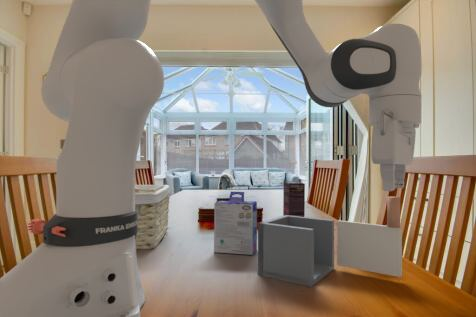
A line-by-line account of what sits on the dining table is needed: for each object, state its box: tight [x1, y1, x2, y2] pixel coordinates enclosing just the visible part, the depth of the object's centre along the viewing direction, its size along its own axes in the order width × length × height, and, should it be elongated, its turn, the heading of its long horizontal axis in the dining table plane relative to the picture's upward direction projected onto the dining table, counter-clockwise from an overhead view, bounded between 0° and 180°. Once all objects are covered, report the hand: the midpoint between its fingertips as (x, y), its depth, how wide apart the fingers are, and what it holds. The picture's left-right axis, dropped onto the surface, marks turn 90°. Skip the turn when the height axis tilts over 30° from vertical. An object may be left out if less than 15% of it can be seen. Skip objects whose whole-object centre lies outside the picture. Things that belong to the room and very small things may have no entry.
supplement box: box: [282, 181, 306, 217], centre depth 98 cm, size 9×5×16 cm, turn 4°
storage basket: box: [135, 184, 171, 250], centre depth 93 cm, size 24×16×15 cm
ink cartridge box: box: [213, 191, 258, 256], centre depth 81 cm, size 10×6×14 cm, turn 77°
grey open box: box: [257, 215, 335, 288], centre depth 66 cm, size 12×11×10 cm
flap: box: [336, 196, 403, 278], centre depth 64 cm, size 12×2×14 cm, turn 54°
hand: (393, 189), depth 61 cm, fingers open, 8 cm apart
